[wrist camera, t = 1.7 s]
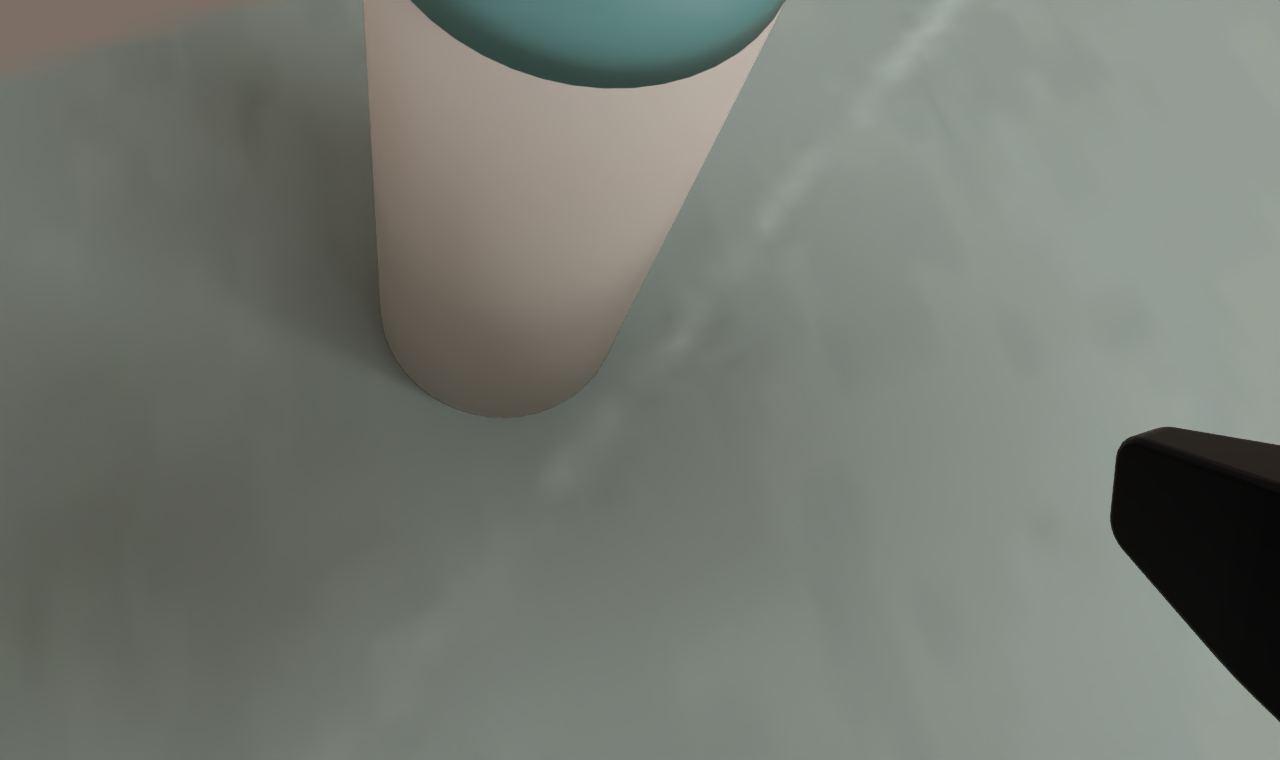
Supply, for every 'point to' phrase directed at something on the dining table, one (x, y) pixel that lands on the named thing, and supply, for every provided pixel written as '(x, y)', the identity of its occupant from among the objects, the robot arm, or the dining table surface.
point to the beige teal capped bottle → (536, 176)
